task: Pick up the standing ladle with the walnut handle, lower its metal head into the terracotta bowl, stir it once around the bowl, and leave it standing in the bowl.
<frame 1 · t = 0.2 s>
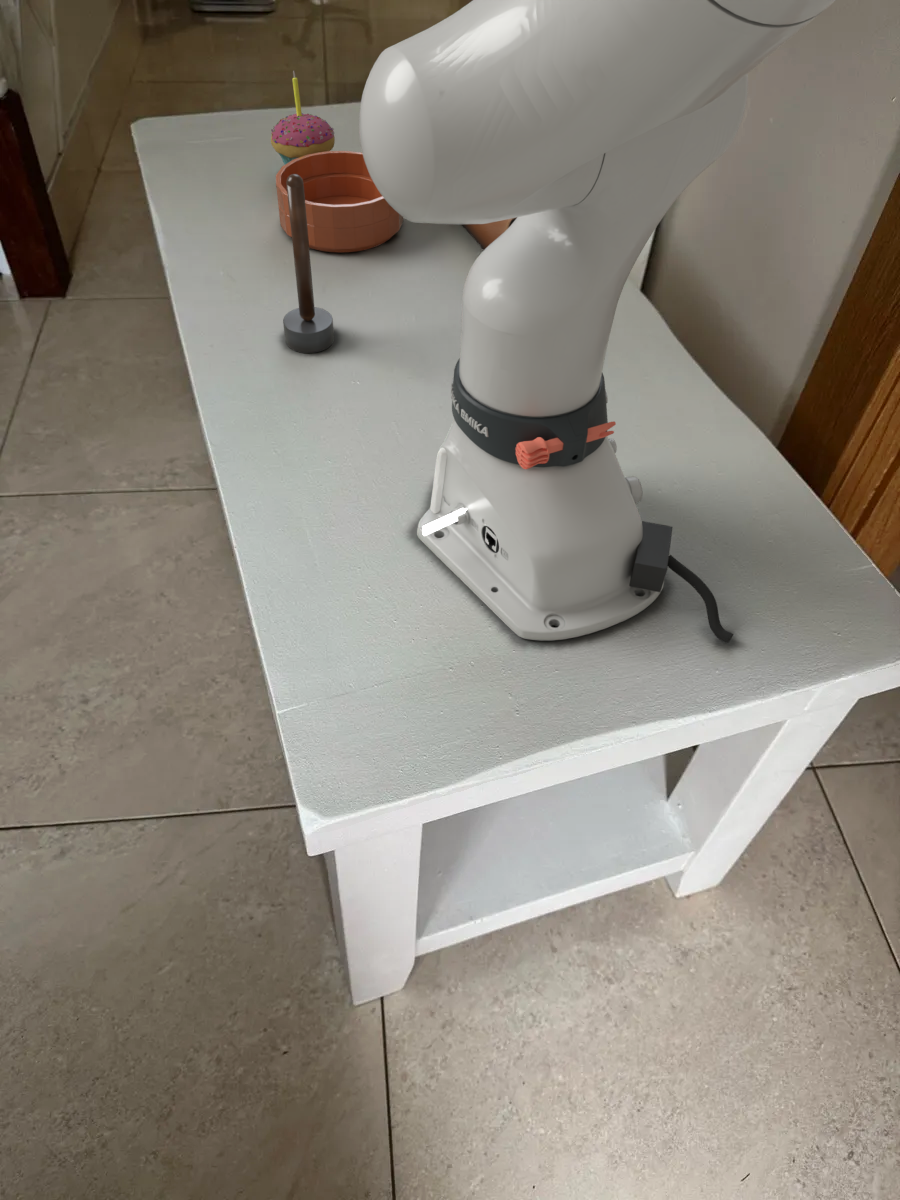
cupcake: (306, 173, 127), on the table
sunglasses case: (497, 238, 116), on the table
ladle: (309, 339, 100), on the table
bowl: (342, 225, 117), on the table
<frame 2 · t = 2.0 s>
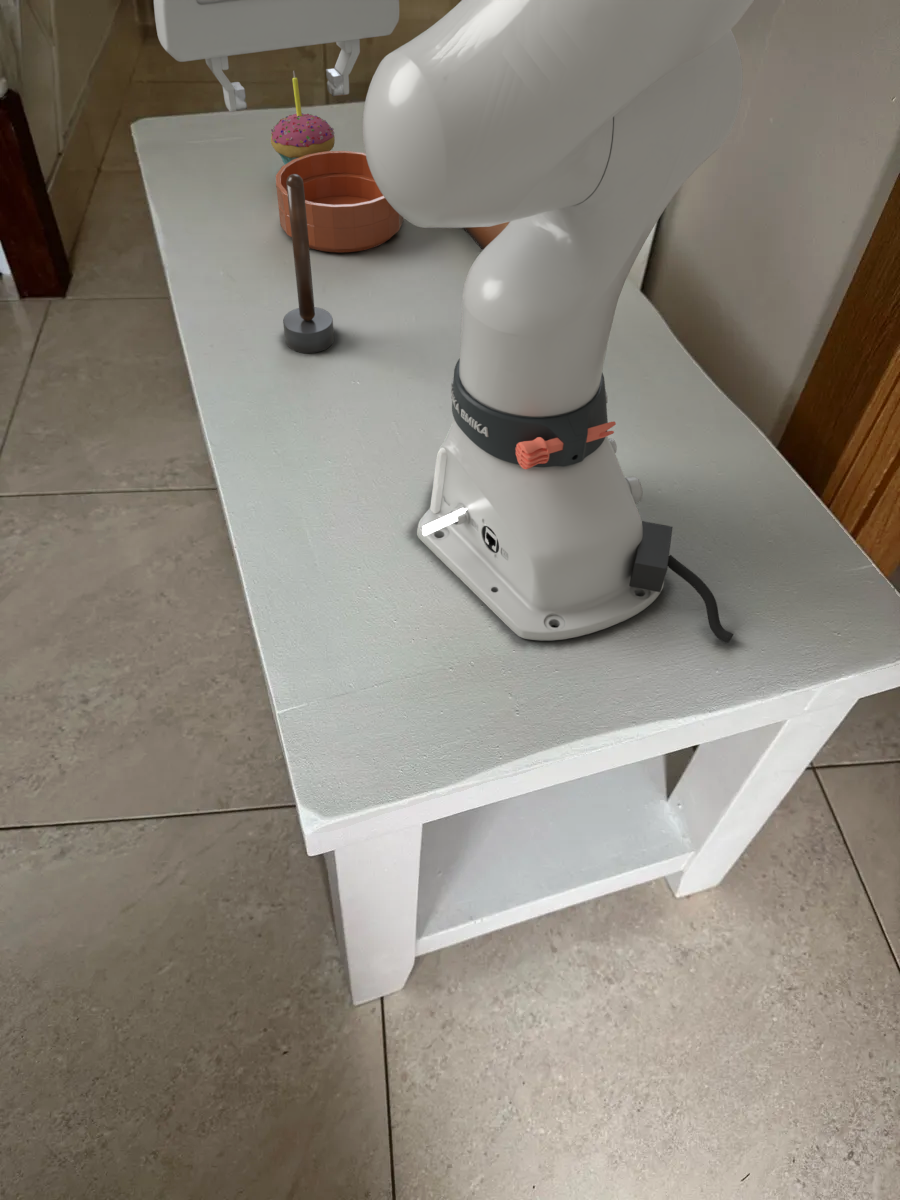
hand: (288, 100, 82), 24 cm above the table, tool pointing down, fingers open, 8 cm apart
nothing on the table moved.
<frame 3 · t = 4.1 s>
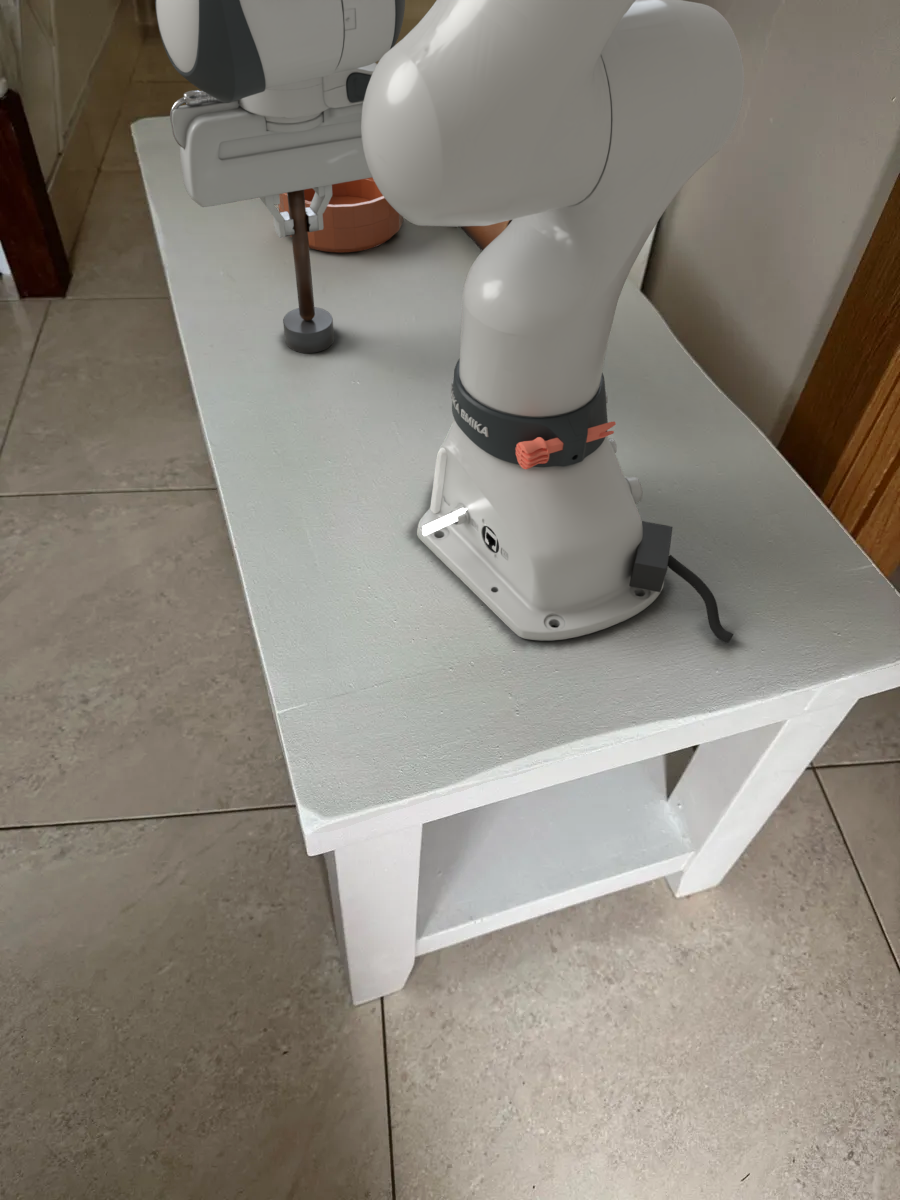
hand: (299, 231, 91), 12 cm above the table, tool pointing down, fingers closed on ladle
ladle: (309, 339, 100), on the table, touching gripper
everything else where it was.
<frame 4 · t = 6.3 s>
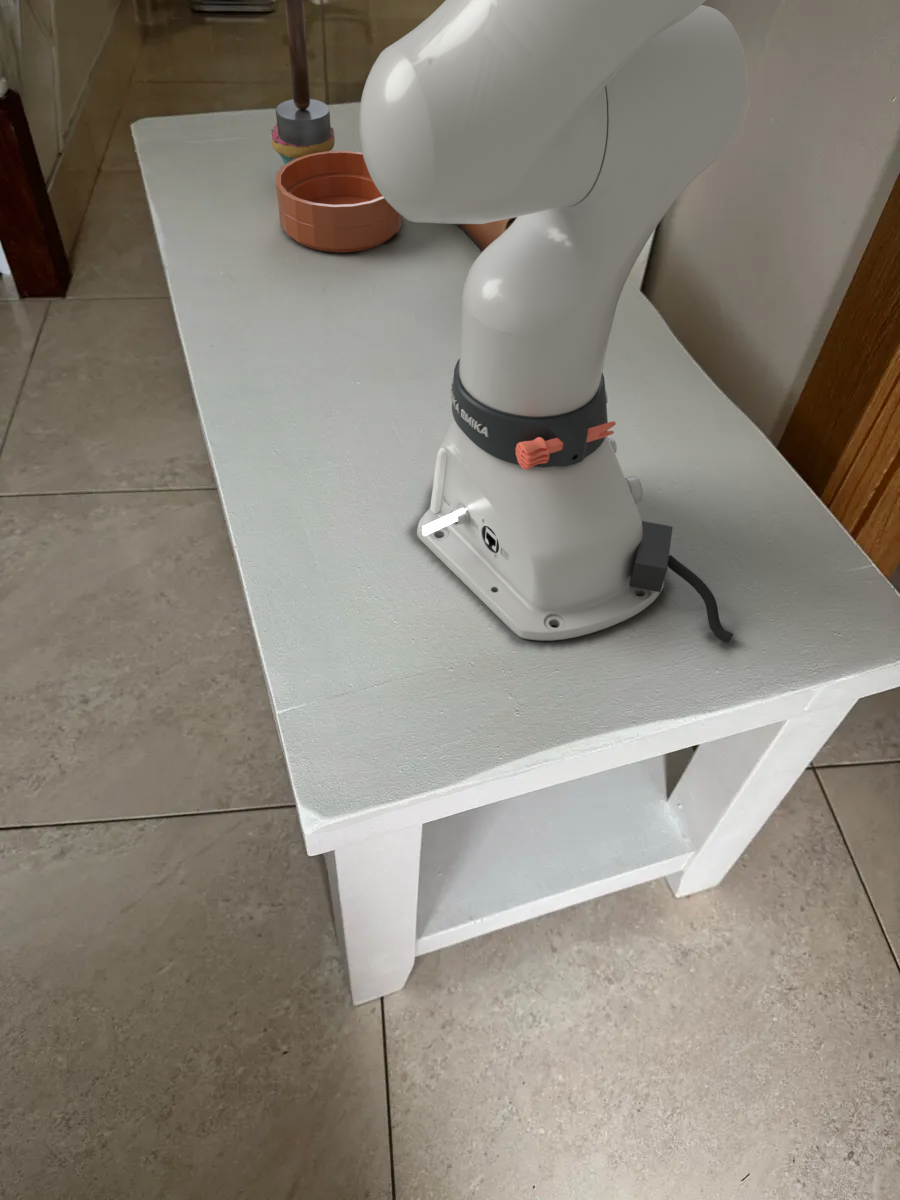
ladle: (304, 134, 92), point 18 cm above the table, touching gripper
everything else where it was.
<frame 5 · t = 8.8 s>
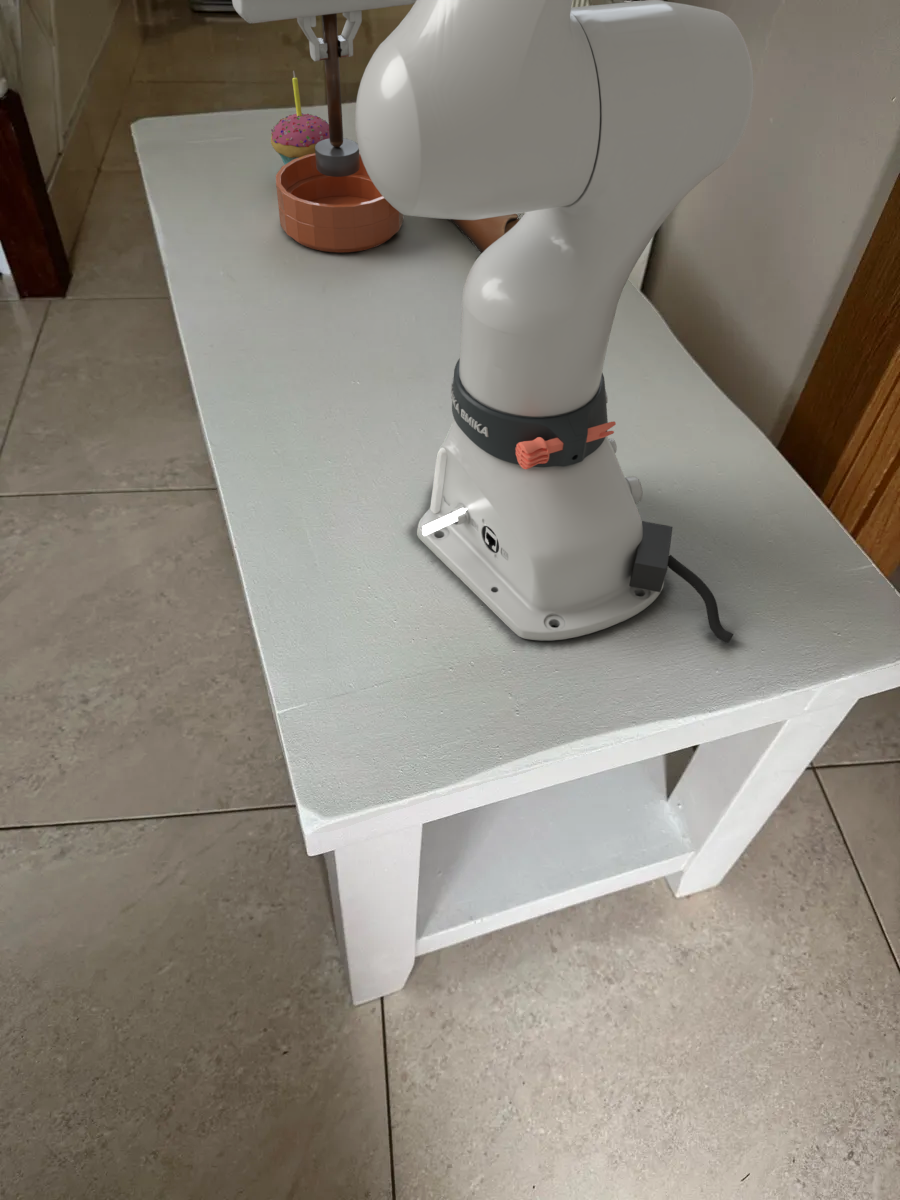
hand: (332, 57, 103), 19 cm above the table, tool pointing down, fingers closed on ladle
ladle: (338, 167, 112), point 7 cm above the table, touching gripper
everything else where it was.
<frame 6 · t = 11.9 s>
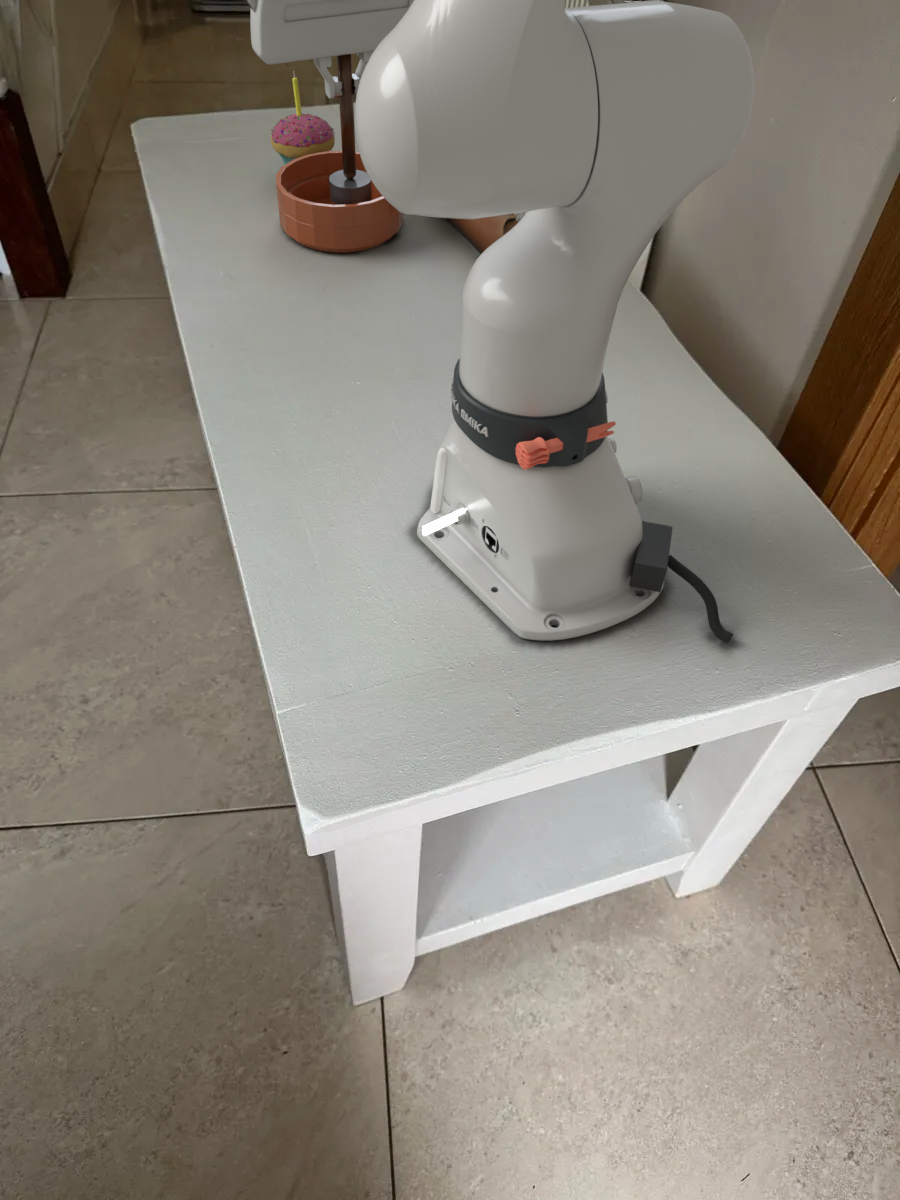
hand: (346, 94, 107), 15 cm above the table, tool pointing down, fingers closed on ladle
ladle: (351, 197, 116), point 3 cm above the table, touching gripper
everything else where it was.
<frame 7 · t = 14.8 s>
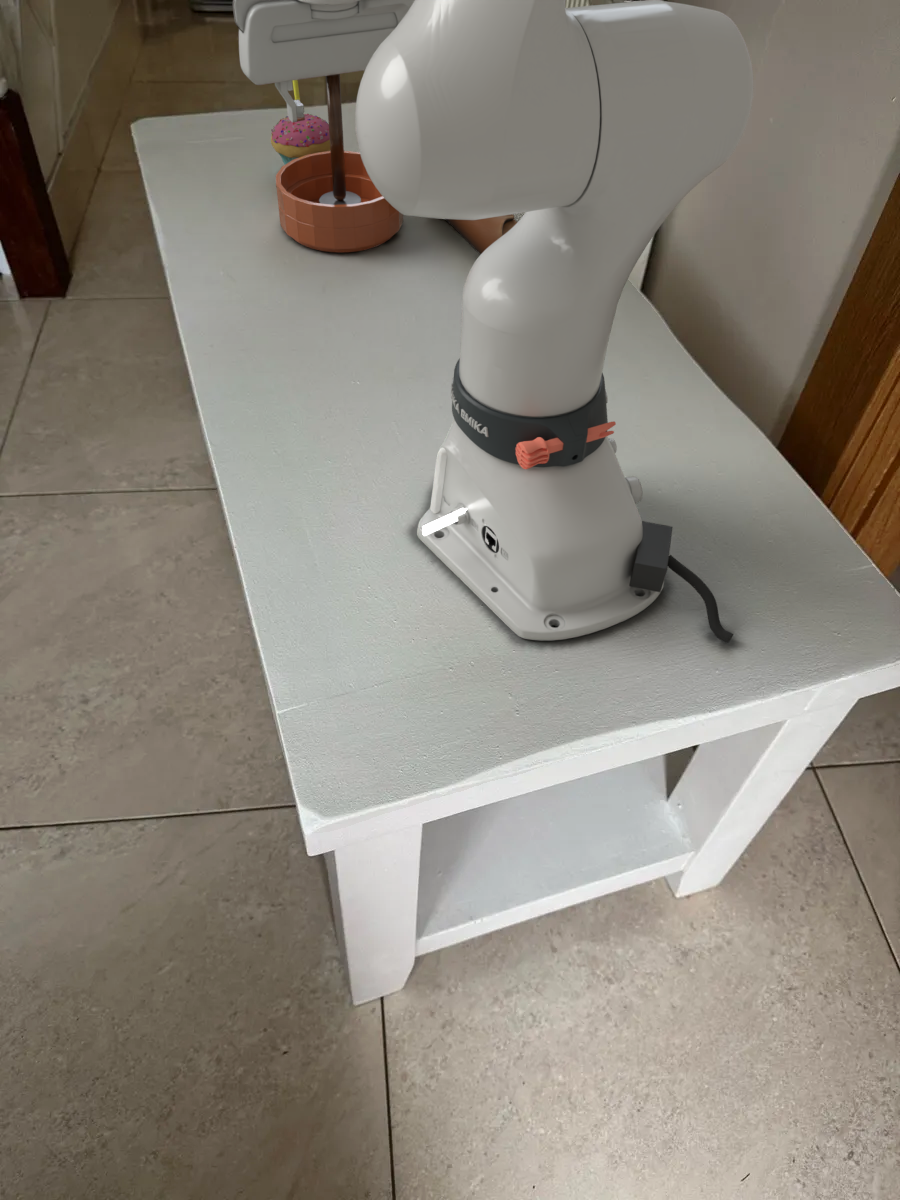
hand: (335, 113, 107), 13 cm above the table, tool pointing down, fingers open, 8 cm apart
ladle: (341, 218, 117), point 1 cm above the table, touching bowl
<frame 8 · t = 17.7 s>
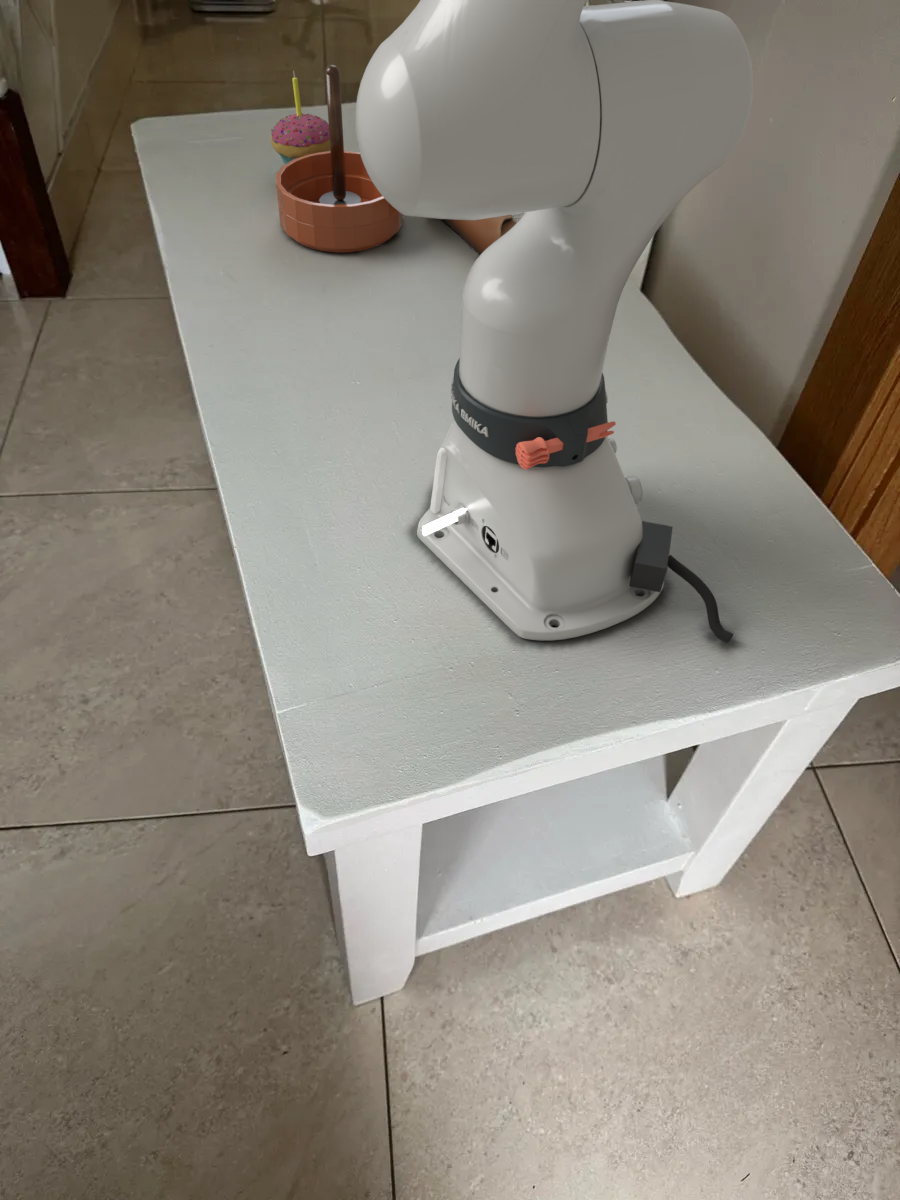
at the end: ladle inside the target area in the bowl (0.1 cm from its centre), point 0.8 cm above the bowl's base; ladle tilted 0°; the gripper is holding nothing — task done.
